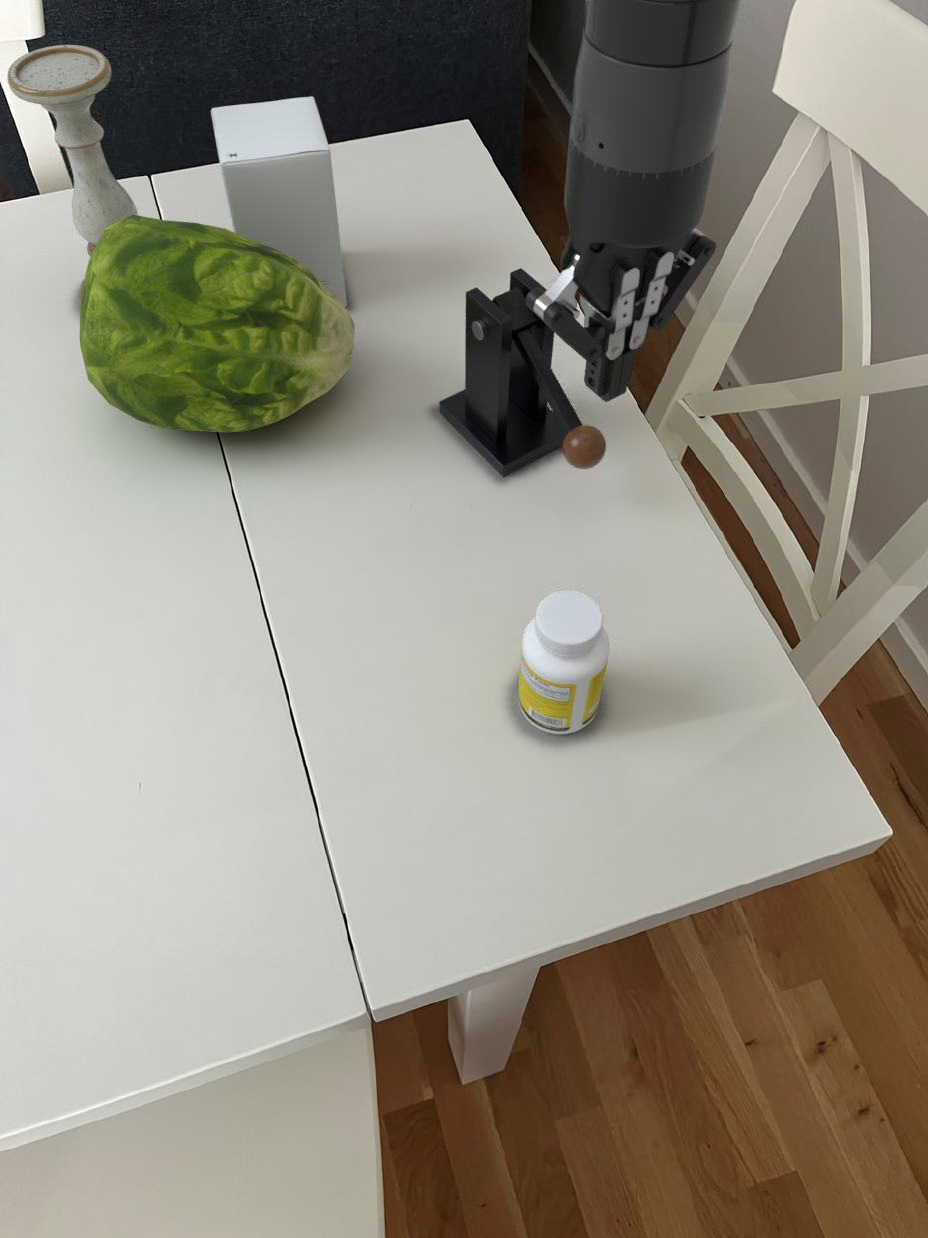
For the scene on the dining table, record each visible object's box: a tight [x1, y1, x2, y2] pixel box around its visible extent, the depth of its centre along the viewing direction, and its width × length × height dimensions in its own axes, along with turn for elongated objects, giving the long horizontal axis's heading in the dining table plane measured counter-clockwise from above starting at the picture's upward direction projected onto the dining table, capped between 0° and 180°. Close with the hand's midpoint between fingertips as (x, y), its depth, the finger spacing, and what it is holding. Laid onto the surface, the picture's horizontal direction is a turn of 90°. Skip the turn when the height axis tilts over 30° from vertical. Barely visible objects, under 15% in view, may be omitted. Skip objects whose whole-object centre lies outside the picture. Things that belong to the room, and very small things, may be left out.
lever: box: [491, 287, 607, 470], centre depth 72 cm, size 14×3×3 cm, turn 34°
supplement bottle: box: [518, 589, 610, 735], centre depth 62 cm, size 5×5×10 cm
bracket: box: [438, 267, 566, 477], centre depth 76 cm, size 9×7×13 cm
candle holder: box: [7, 44, 139, 301], centre depth 83 cm, size 9×9×20 cm
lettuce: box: [79, 215, 356, 434], centre depth 77 cm, size 16×21×15 cm
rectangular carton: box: [210, 96, 348, 308], centre depth 86 cm, size 9×9×15 cm
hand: (606, 390), depth 64 cm, fingers closed
